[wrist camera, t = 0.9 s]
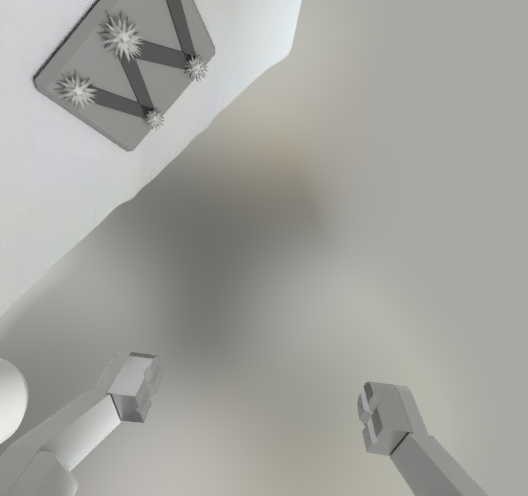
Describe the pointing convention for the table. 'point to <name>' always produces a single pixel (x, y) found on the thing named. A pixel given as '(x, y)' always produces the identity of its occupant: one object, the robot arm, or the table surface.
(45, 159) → the table surface
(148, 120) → the decorative plate
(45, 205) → the table surface
